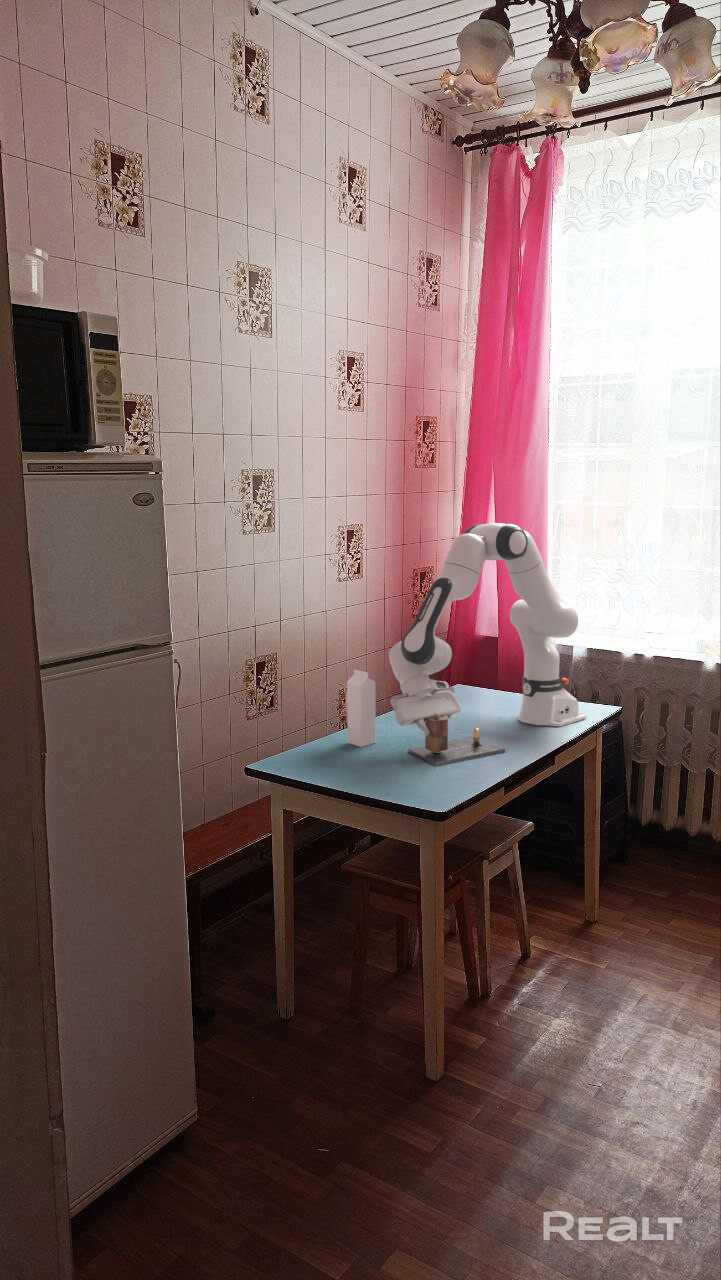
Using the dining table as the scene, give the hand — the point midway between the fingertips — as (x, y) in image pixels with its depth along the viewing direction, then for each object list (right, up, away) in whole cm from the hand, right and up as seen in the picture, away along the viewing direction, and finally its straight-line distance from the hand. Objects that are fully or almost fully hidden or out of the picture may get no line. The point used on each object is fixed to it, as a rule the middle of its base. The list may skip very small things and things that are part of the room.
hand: (437, 733), depth 252 cm
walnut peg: (0, -5, +2) cm, 5 cm away
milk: (-22, -5, +15) cm, 27 cm away
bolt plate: (+6, -6, +5) cm, 10 cm away
